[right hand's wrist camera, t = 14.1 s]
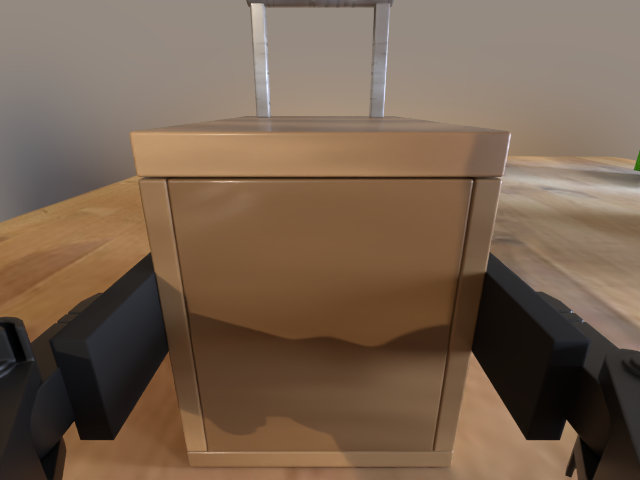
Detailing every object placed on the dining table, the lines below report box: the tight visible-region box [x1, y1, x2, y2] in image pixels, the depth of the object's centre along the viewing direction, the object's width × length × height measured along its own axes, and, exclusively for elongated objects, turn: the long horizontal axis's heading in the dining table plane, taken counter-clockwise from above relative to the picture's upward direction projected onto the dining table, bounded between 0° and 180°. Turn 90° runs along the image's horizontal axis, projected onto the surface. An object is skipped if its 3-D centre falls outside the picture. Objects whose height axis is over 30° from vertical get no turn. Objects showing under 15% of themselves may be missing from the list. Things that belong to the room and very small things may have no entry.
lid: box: [130, 0, 511, 177], centre depth 15 cm, size 15×9×8 cm, turn 0°
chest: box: [138, 177, 502, 467], centre depth 18 cm, size 14×9×10 cm, turn 0°
